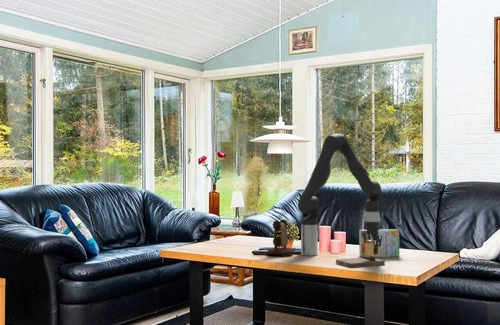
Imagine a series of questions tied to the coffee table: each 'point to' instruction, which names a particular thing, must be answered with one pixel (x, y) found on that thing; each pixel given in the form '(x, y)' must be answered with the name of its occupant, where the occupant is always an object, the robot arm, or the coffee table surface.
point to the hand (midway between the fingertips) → (372, 253)
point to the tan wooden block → (371, 249)
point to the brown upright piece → (280, 239)
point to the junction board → (360, 262)
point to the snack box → (383, 243)
